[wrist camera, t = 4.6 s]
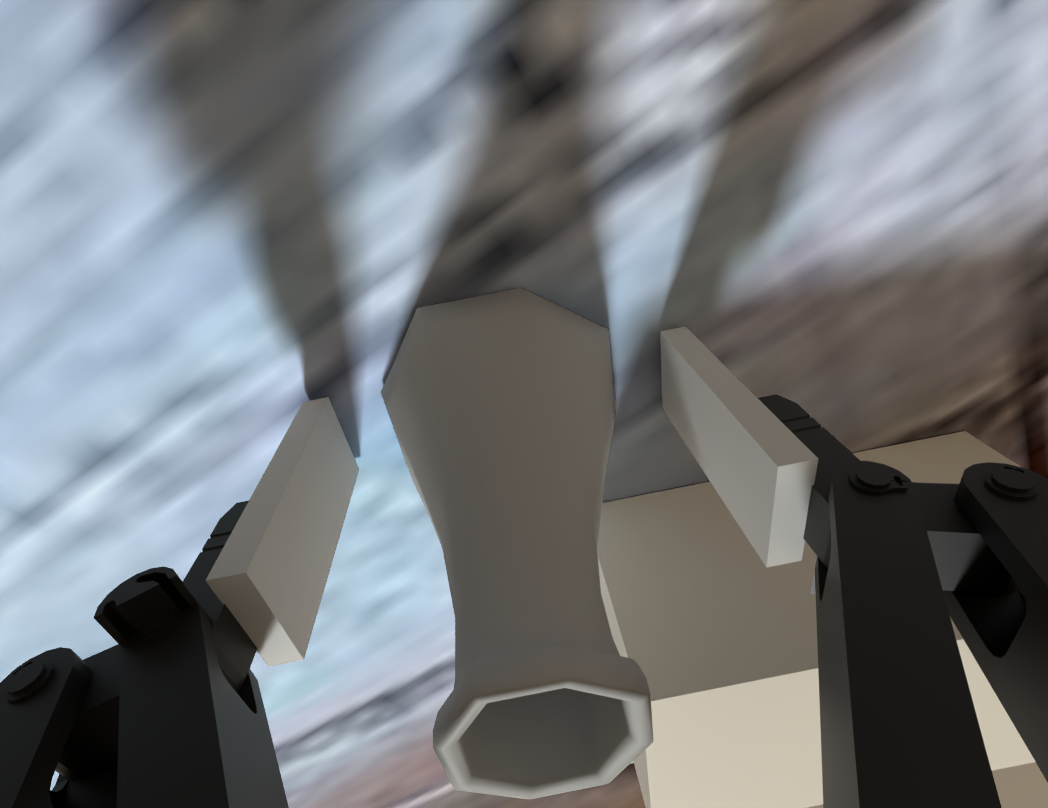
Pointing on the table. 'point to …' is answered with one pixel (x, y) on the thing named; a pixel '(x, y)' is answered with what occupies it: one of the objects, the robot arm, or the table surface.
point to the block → (745, 643)
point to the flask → (520, 540)
